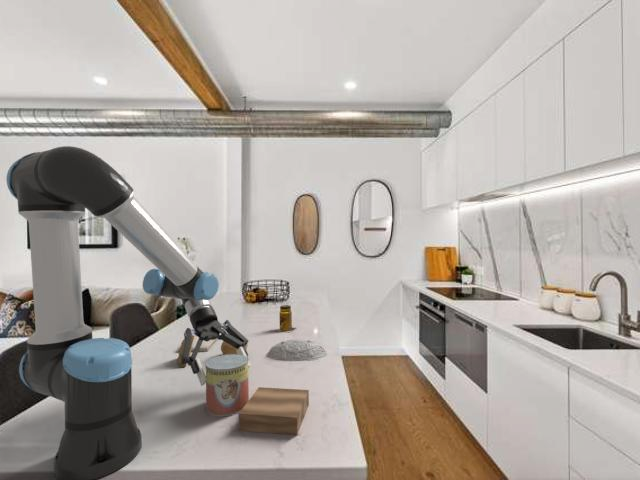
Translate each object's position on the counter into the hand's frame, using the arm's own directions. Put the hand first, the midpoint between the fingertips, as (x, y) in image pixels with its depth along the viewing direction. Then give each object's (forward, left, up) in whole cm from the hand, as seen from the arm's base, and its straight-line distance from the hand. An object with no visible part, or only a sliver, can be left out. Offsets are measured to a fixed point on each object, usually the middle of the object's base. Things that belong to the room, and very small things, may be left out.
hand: (227, 375), depth 93 cm
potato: (+33, +12, -7) cm, 36 cm away
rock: (+26, +29, -7) cm, 39 cm away
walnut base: (-6, -16, -7) cm, 19 cm away
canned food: (-2, -1, -7) cm, 8 cm away
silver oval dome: (+40, -11, -8) cm, 42 cm away
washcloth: (+46, +33, -8) cm, 57 cm away
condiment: (+74, +2, -7) cm, 74 cm away
